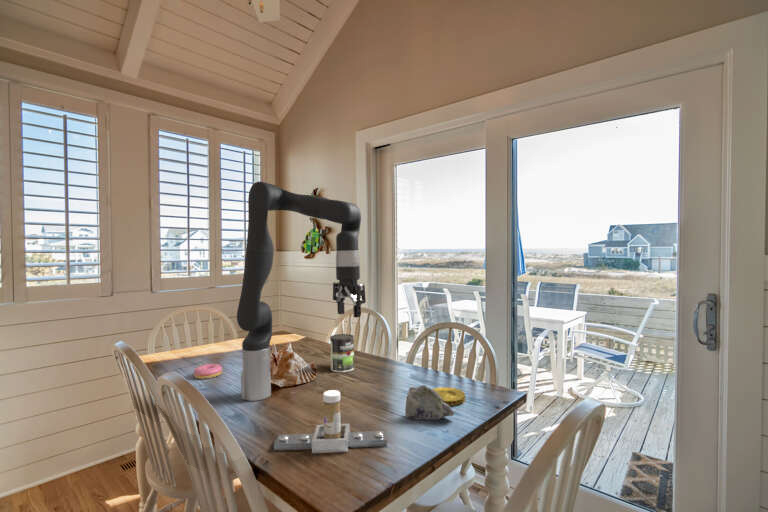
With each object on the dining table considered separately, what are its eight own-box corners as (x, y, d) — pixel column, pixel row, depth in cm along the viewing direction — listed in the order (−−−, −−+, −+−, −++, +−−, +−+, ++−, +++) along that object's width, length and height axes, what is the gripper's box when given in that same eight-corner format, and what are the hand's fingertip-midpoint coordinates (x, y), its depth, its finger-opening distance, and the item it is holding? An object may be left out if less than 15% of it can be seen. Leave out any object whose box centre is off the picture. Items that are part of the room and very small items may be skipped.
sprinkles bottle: (320, 443, 98) (319, 393, 98) (333, 437, 102) (332, 388, 101) (331, 449, 95) (330, 397, 95) (344, 442, 99) (343, 391, 98)
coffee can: (359, 369, 160) (358, 336, 160) (338, 374, 154) (337, 340, 154) (346, 363, 168) (345, 332, 168) (326, 368, 162) (325, 336, 162)
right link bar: (348, 447, 96) (348, 439, 96) (349, 437, 101) (349, 429, 101) (387, 446, 96) (386, 437, 96) (386, 436, 101) (386, 428, 101)
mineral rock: (456, 420, 110) (455, 386, 110) (432, 433, 103) (431, 396, 103) (424, 407, 120) (423, 376, 119) (399, 418, 112) (399, 384, 112)
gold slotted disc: (440, 410, 118) (440, 403, 118) (423, 396, 129) (422, 390, 129) (472, 403, 122) (472, 397, 122) (453, 391, 133) (452, 385, 133)
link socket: (312, 453, 94) (311, 441, 94) (317, 435, 103) (316, 424, 103) (347, 451, 94) (347, 439, 94) (349, 434, 103) (349, 423, 103)
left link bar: (273, 450, 95) (273, 442, 95) (278, 440, 100) (278, 432, 100) (313, 449, 96) (313, 440, 96) (316, 439, 101) (315, 431, 101)
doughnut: (207, 381, 149) (206, 371, 149) (187, 378, 153) (187, 368, 153) (228, 373, 159) (228, 363, 159) (209, 370, 163) (209, 361, 163)
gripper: (325, 265, 122) (326, 314, 122) (351, 265, 111) (353, 319, 111) (344, 264, 127) (345, 311, 127) (371, 264, 116) (372, 316, 116)
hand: (349, 315), depth 119 cm, fingers open, 8 cm apart
